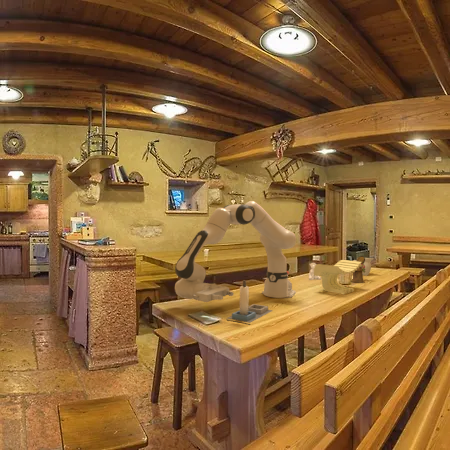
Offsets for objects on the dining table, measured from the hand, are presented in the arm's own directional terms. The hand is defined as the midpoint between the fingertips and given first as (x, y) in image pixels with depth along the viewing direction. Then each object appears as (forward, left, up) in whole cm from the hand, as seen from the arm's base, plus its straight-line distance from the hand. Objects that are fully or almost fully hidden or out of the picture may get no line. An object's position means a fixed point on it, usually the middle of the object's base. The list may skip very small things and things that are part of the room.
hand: (227, 295), depth 174 cm
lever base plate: (-7, +9, -10) cm, 15 cm away
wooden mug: (-129, +31, -10) cm, 133 cm away
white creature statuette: (-119, +1, -10) cm, 119 cm away
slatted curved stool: (-89, +27, -10) cm, 93 cm away
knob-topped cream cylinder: (0, +9, -9) cm, 12 cm away
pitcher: (-161, +27, -10) cm, 163 cm away
